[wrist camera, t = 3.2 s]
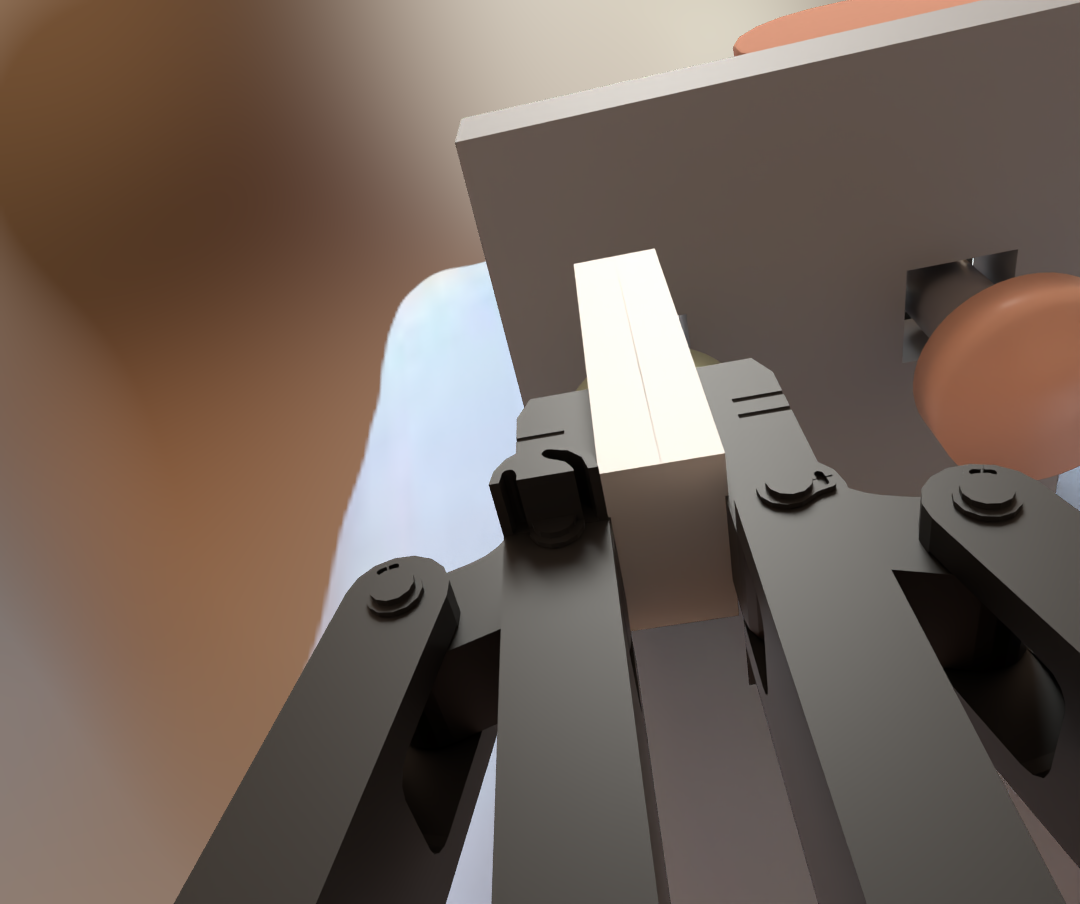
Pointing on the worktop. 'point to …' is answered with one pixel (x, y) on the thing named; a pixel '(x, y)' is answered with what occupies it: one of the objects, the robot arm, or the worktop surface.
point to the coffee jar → (835, 24)
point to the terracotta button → (999, 366)
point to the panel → (796, 207)
